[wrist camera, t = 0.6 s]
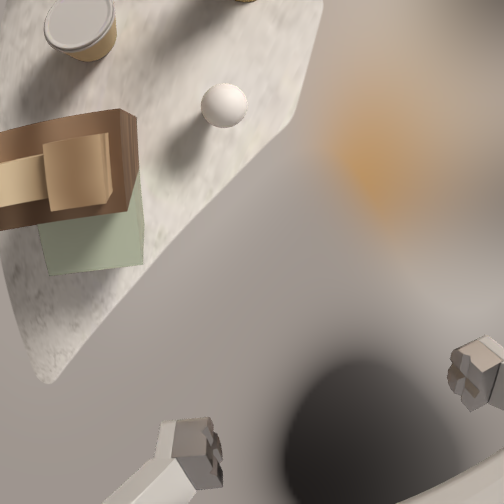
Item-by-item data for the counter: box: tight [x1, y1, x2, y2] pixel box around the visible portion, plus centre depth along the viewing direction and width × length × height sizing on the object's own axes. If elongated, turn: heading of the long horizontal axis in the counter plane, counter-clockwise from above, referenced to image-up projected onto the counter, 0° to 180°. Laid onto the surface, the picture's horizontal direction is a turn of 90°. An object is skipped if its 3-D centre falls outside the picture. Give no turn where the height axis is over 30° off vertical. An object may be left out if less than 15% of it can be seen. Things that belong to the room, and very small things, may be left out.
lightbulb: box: [201, 83, 247, 128], centre depth 42 cm, size 6×6×11 cm
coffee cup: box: [44, 0, 117, 62], centre depth 31 cm, size 9×9×12 cm
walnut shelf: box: [0, 109, 139, 231], centre depth 32 cm, size 12×8×26 cm, turn 90°
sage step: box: [37, 171, 144, 276], centre depth 40 cm, size 12×9×16 cm
